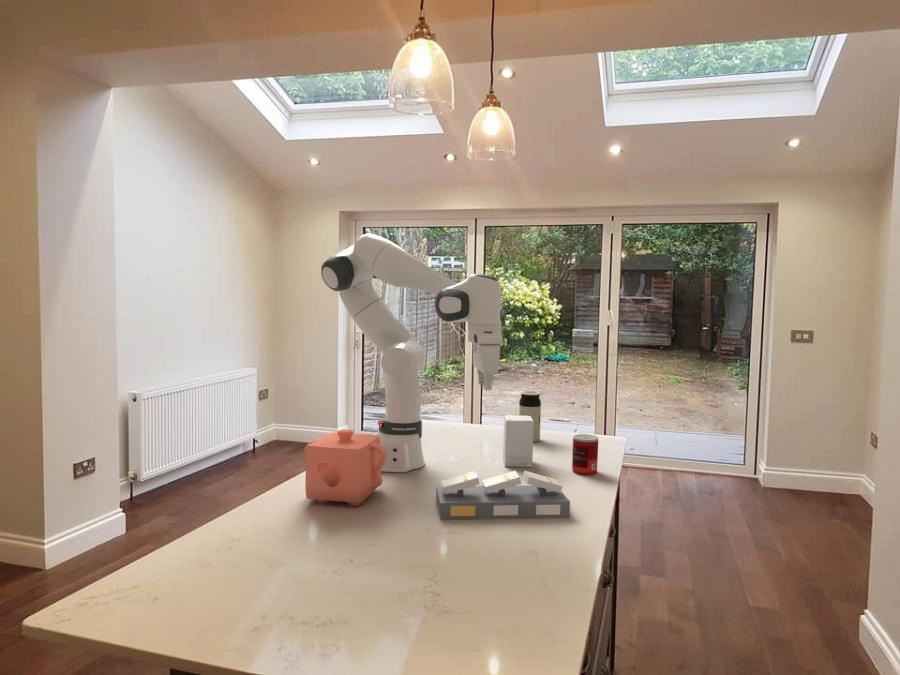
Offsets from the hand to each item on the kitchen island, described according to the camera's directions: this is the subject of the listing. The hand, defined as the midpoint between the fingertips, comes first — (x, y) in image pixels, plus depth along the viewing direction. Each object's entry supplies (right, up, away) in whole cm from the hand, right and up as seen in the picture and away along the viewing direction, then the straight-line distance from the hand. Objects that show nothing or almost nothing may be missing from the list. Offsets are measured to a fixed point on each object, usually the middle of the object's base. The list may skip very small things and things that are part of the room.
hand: (484, 387), depth 167 cm
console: (+4, -30, -7) cm, 31 cm away
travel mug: (+20, -25, +69) cm, 76 cm away
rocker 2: (+4, -23, -8) cm, 25 cm away
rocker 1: (-7, -23, -9) cm, 26 cm away
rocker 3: (+14, -24, -7) cm, 28 cm away
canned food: (+32, -29, +28) cm, 51 cm away
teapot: (-38, -30, -3) cm, 48 cm away
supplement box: (+12, -28, +36) cm, 47 cm away
